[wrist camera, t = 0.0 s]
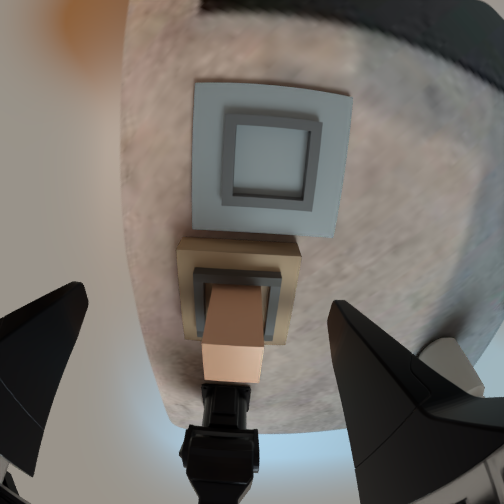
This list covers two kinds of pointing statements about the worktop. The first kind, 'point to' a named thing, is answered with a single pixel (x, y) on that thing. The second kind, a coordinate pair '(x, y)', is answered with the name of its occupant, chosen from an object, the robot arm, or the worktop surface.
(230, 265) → the beige square socket
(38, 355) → the robot arm
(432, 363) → the can
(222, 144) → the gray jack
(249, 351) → the plug
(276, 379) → the worktop surface
